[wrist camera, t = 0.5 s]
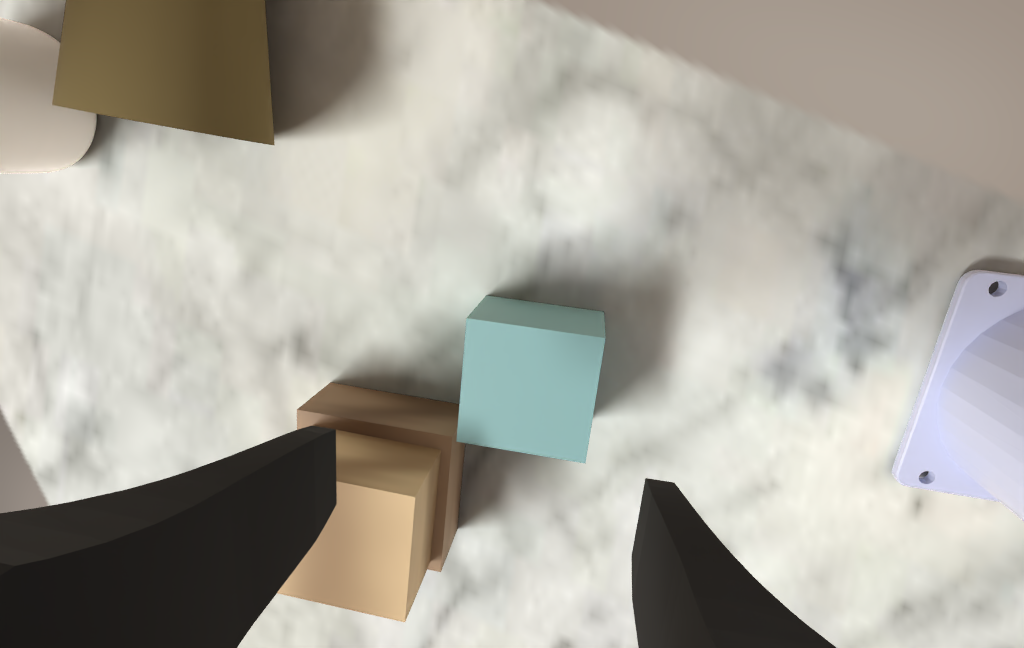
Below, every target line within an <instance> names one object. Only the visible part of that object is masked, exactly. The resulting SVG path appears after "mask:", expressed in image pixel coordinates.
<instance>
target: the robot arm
mask: <svg viewBox="0 0 1024 648" xmlns="http://www.w3.org/2000/svg"><path fill="white" fill-rule="evenodd" d="M996 281H997V282H998V283H999V285H998V289H997V290H996V291H995V292H994V293H992V294H990V293H989V287H990V285H991V284H992V283H994V282H996ZM925 471H929V473H928V474H927V476H925V477H923V478H919V476H920V474H921V473H923V472H925ZM892 474H893V476H894V478H895V479H896V480H897V481H898V482H899V483H901V484H902V485H905V486H908V487H914V488H920V489H926V490H932V491H938V492H944V493H950V494H956V495H962V496H968V497H974V498H980V499H986V500H992V501H998V502H1001V503H1002V504H1003V505H1005V506H1006V507H1007V508H1008V509H1009V510H1011V511H1012V512H1013V513H1014V514H1015V515H1017V516H1018V517H1019V518H1020V519H1021V520H1023V521H1024V275H1018V274H1010V273H1002V272H994V271H986V270H972V271H969V272H967V273H965V274H964V275H963V276H962V277H961V278H960V280H959V281H958V283H957V286H956V289H955V292H954V294H953V297H952V300H951V303H950V306H949V309H948V311H947V314H946V317H945V320H944V323H943V326H942V329H941V331H940V334H939V337H938V340H937V343H936V346H935V348H934V351H933V354H932V357H931V360H930V363H929V365H928V368H927V371H926V374H925V377H924V380H923V382H922V385H921V388H920V391H919V394H918V397H917V399H916V402H915V405H914V408H913V411H912V414H911V416H910V419H909V422H908V425H907V428H906V431H905V433H904V436H903V439H902V442H901V445H900V448H899V450H898V453H897V456H896V459H895V462H894V465H893V467H892ZM336 504H337V486H336V429H331V428H325V427H318V426H308V427H305V428H301V429H298V430H296V431H293V432H290V433H287V434H285V435H282V436H280V437H277V438H275V439H272V440H270V441H267V442H265V443H262V444H260V445H257V446H255V447H252V448H250V449H247V450H245V451H242V452H239V453H237V454H234V455H232V456H229V457H226V458H224V459H221V460H218V461H215V462H213V463H210V464H207V465H204V466H202V467H199V468H196V469H193V470H191V471H188V472H185V473H182V474H179V475H176V476H172V477H169V478H166V479H163V480H159V481H156V482H152V483H149V484H145V485H142V486H138V487H134V488H131V489H127V490H123V491H119V492H114V493H110V494H105V495H100V496H96V497H91V498H87V499H82V500H78V501H73V502H68V503H63V504H58V505H52V506H46V507H41V508H35V509H28V510H21V511H14V512H8V513H0V648H237V647H238V645H239V644H240V642H241V641H242V639H243V638H244V636H245V635H246V633H247V632H248V631H249V629H250V628H251V626H252V625H253V624H254V622H255V621H256V620H257V618H258V617H259V616H260V614H261V613H262V612H263V610H264V609H265V608H266V606H267V605H268V604H269V603H270V601H271V600H272V599H273V597H274V596H275V595H276V593H277V592H278V591H279V589H280V588H281V587H282V586H283V584H284V583H285V582H286V580H287V579H288V578H289V576H290V575H291V574H292V572H293V571H294V570H295V569H296V567H297V566H298V565H299V563H300V562H301V561H302V559H303V558H304V557H305V555H306V554H307V553H308V551H309V550H310V549H311V547H312V546H313V544H314V543H315V542H316V540H317V538H318V537H319V535H320V533H321V532H322V530H323V528H324V526H325V525H326V523H327V521H328V519H329V517H330V516H331V514H332V512H333V510H334V508H335V506H336ZM632 601H633V609H634V616H635V624H636V631H637V638H638V646H639V648H836V647H835V646H834V645H832V644H831V643H830V642H828V641H827V640H826V639H825V638H823V637H822V636H821V635H819V634H818V633H817V632H816V631H814V630H813V629H812V628H810V627H809V626H808V625H807V624H805V623H804V622H803V621H802V620H801V619H799V618H798V617H797V616H796V615H794V614H793V613H792V612H791V611H790V610H789V609H788V608H786V607H785V606H784V605H783V604H782V603H781V602H780V601H779V600H778V599H777V598H775V597H774V596H773V595H772V594H771V593H770V592H769V591H768V590H767V589H765V588H764V587H763V586H762V585H761V584H760V583H759V582H758V581H757V580H756V579H755V578H754V577H753V576H752V575H751V574H750V573H749V572H748V571H747V570H746V569H745V568H744V566H743V565H742V564H741V563H740V562H739V561H738V560H737V559H736V558H735V557H734V556H733V555H732V554H731V553H730V551H729V550H728V549H727V548H726V547H725V546H724V545H723V544H722V542H721V541H720V540H719V539H718V538H717V537H716V535H715V534H714V533H713V532H712V531H711V529H710V528H709V527H708V526H707V525H706V523H705V522H704V521H703V520H702V518H701V517H700V516H699V514H698V513H697V512H696V511H695V509H694V508H693V507H692V505H691V504H690V503H689V501H688V500H687V499H686V498H685V496H684V495H683V494H682V492H681V491H680V490H679V488H678V487H677V486H676V485H675V483H673V482H666V481H660V480H654V479H647V478H646V479H645V484H644V490H643V495H642V501H641V507H640V512H639V518H638V524H637V529H636V535H635V541H634V546H633V552H632Z"/></svg>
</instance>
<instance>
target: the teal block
mask: <svg viewBox="0 0 1024 648" xmlns="http://www.w3.org/2000/svg"><path fill="white" fill-rule="evenodd" d="M605 338H606V337H605V320H604V312H603V311H596V310H588V309H581V308H574V307H567V306H559V305H552V304H545V303H538V302H530V301H523V300H516V299H509V298H501V297H494V296H487V295H486V296H485V298H484V299H483V300H482V301H481V302H480V303H479V305H478V306H477V307H476V308H475V309H474V310H473V311H472V313H471V314H470V315H469V316H468V317H467V320H466V332H465V344H464V356H463V368H462V380H461V392H460V404H459V416H458V428H457V440H456V442H462V443H468V444H474V445H480V446H486V447H491V448H497V449H503V450H509V451H515V452H521V453H527V454H533V455H539V456H545V457H551V458H557V459H562V460H568V461H574V462H580V463H585V462H586V456H587V450H588V444H589V437H590V431H591V425H592V419H593V413H594V406H595V400H596V394H597V388H598V382H599V375H600V369H601V363H602V357H603V351H604V345H605Z"/></svg>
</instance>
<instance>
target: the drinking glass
mask: <svg viewBox="0 0 1024 648" xmlns="http://www.w3.org/2000/svg"><path fill="white" fill-rule="evenodd" d="M59 49H60V42H58V41H57V40H56V39H54V38H53V37H52V36H50V35H48V34H47V33H45V32H43V31H41V30H39V29H37V28H35V27H32V26H29V25H26V24H23V23H19V22H15V21H11V20H8V19H4V18H0V174H8V173H50V172H55V171H59V170H63V169H65V168H68V167H70V166H71V165H73V164H75V163H76V162H77V161H79V160H80V159H81V158H82V157H83V156H84V155H85V153H86V152H87V150H88V149H89V147H90V145H91V143H92V141H93V138H94V135H95V130H96V123H97V114H96V113H91V112H85V111H80V110H75V109H70V108H65V107H60V106H55V105H52V101H53V94H54V86H55V79H56V71H57V64H58V57H59Z"/></svg>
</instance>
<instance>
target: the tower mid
mask: <svg viewBox="0 0 1024 648" xmlns="http://www.w3.org/2000/svg"><path fill="white" fill-rule="evenodd" d="M312 426H314V425H312ZM318 427H319V426H318ZM440 457H441V450H440V449H435V448H429V447H424V446H419V445H414V444H408V443H403V442H398V441H393V440H387V439H382V438H377V437H372V436H367V435H361V434H356V433H351V432H346V431H340V430H336V486H337V504H336V506H335V508H334V510H333V512H332V514H331V516H330V517H329V519H328V521H327V523H326V525H325V526H324V528H323V530H322V532H321V533H320V535H319V537H318V538H317V540H316V542H315V543H314V544H313V546H312V547H311V549H310V550H309V551H308V553H307V554H306V555H305V557H304V558H303V559H302V561H301V562H300V563H299V565H298V566H297V567H296V569H295V570H294V571H293V572H292V574H291V575H290V576H289V578H288V579H287V580H286V582H285V583H284V584H283V586H282V587H281V588H280V589H279V591H278V592H277V593H279V594H283V595H287V596H292V597H296V598H301V599H305V600H309V601H314V602H318V603H323V604H327V605H331V606H336V607H340V608H345V609H349V610H353V611H358V612H362V613H367V614H371V615H375V616H380V617H384V618H389V619H393V620H397V621H402V622H405V621H406V619H407V616H408V614H409V611H410V609H411V607H412V604H413V602H414V599H415V597H416V595H417V592H418V590H419V588H420V585H421V583H422V580H423V578H424V576H425V573H426V571H427V568H428V566H429V564H430V561H431V550H432V540H433V530H434V519H435V509H436V499H437V488H438V478H439V468H440Z"/></svg>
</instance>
